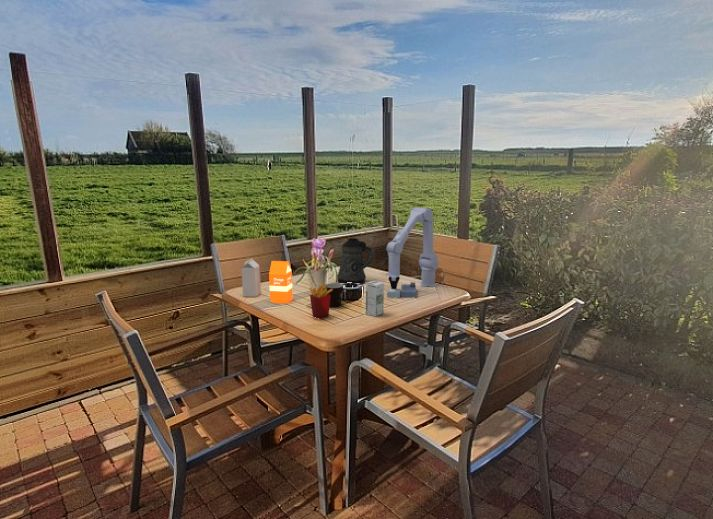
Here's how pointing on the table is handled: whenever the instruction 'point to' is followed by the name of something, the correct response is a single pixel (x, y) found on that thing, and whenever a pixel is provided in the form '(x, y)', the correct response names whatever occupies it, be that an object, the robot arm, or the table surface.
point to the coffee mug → (335, 294)
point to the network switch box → (408, 290)
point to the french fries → (320, 301)
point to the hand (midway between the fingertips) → (393, 290)
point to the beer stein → (353, 261)
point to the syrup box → (374, 298)
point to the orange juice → (280, 282)
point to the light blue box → (393, 293)
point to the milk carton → (251, 279)
